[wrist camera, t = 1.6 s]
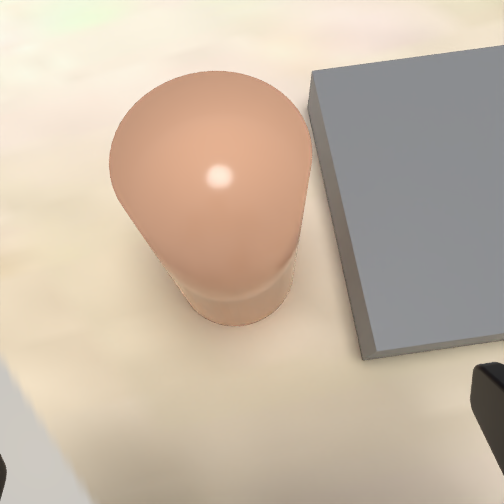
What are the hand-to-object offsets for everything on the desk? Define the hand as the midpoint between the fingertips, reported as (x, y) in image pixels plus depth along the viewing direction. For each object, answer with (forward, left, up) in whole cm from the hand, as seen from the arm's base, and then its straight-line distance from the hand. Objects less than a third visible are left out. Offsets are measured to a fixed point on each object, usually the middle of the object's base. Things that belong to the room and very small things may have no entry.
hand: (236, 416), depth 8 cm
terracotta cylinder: (+7, 0, -13) cm, 15 cm away
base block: (+9, -13, -13) cm, 21 cm away
